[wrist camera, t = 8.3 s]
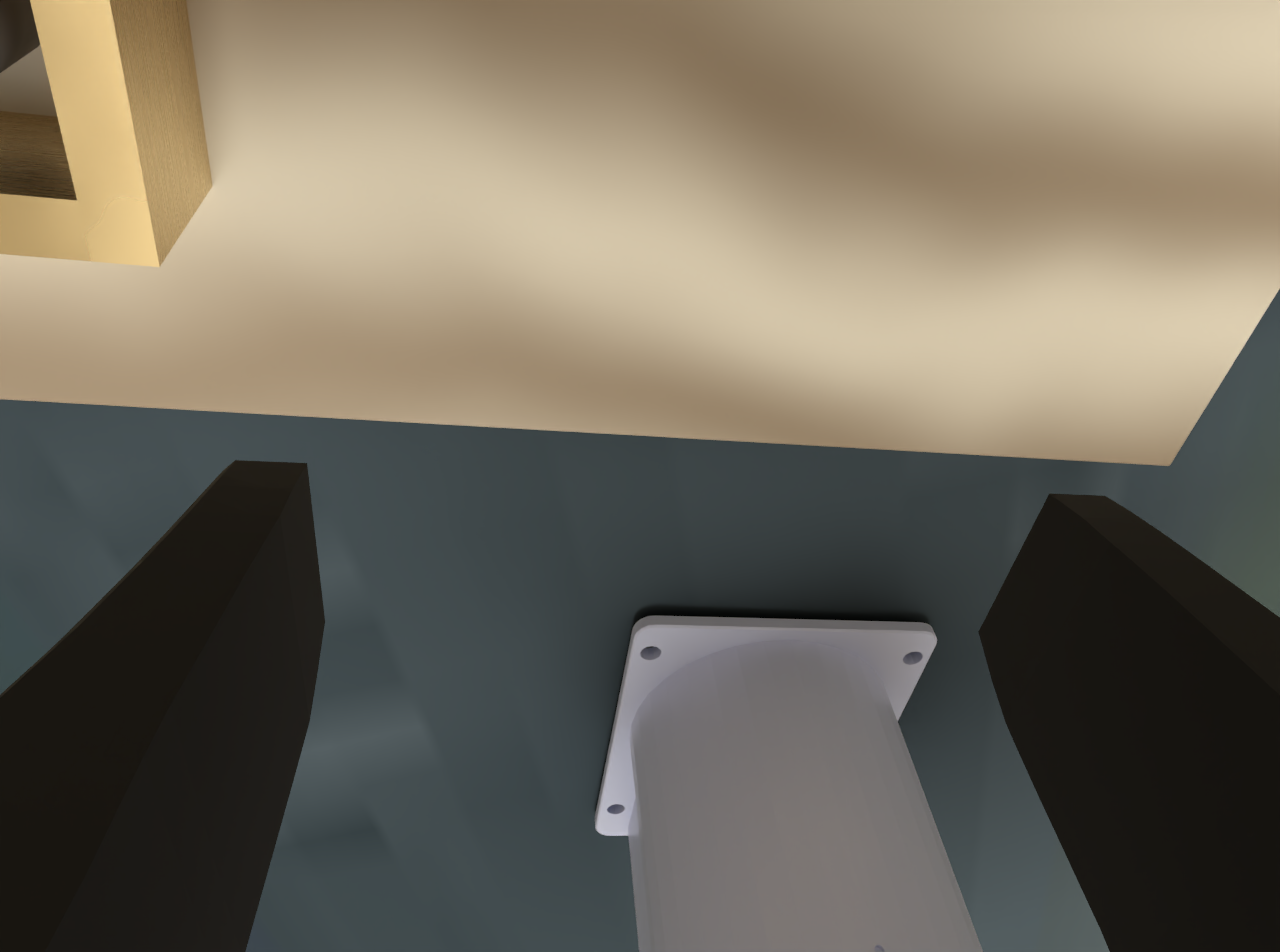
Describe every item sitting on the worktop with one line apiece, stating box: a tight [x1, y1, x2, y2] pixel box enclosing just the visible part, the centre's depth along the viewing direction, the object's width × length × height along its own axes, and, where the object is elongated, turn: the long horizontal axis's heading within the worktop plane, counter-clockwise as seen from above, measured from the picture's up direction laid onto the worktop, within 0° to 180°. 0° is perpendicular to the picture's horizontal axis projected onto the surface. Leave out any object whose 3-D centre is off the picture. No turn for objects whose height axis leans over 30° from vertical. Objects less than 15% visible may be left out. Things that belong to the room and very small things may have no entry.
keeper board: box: [0, 0, 1280, 466], centre depth 13 cm, size 14×28×4 cm, turn 82°
